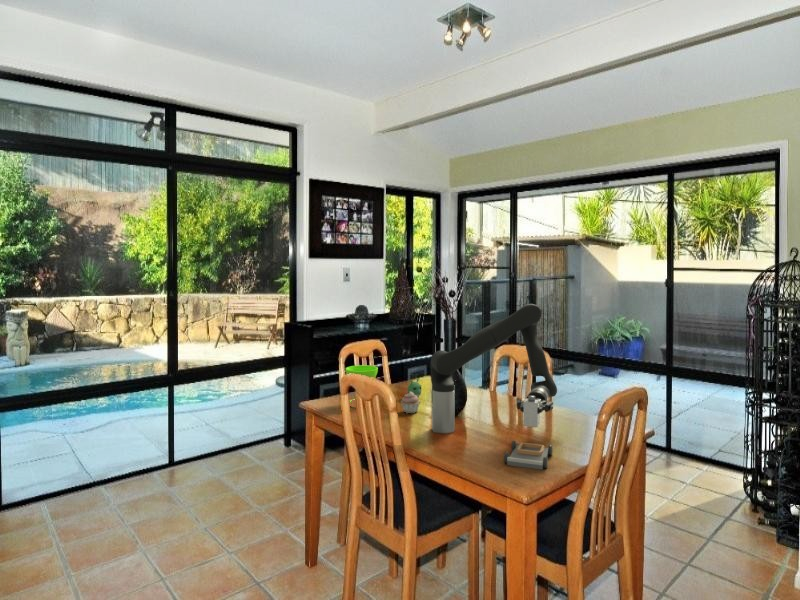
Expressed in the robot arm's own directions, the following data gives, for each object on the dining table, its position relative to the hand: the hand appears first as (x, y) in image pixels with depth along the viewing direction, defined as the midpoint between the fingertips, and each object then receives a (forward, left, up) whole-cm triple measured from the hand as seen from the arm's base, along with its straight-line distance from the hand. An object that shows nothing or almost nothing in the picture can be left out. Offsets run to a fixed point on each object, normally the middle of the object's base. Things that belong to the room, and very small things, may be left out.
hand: (530, 410), depth 198 cm
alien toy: (-35, +88, -17) cm, 96 cm away
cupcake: (-39, +62, -17) cm, 75 cm away
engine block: (+1, +2, -6) cm, 7 cm away
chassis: (-1, -2, -17) cm, 17 cm away
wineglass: (-62, +78, -17) cm, 101 cm away
